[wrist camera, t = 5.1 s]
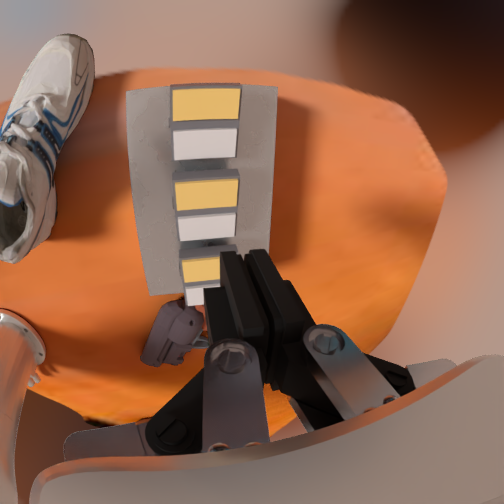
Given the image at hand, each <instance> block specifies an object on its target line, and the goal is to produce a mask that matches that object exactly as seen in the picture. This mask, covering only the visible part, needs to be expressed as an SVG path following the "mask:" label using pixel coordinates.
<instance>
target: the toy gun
mask: <svg viewBox="0 0 504 504" xmlns="http://www.w3.org/2000/svg"><path fill="white" fill-rule="evenodd" d="M203 330H204V331H207V326H206V319H205V309H204V304H203V305H194V306H188V305H186V303H185V299H184V300H174V301H170V302H167V303H166V304H164V305H163V306H162V307H161V309H160V310H159V312H158V315H157V317H156V319H155V322H154V324H153V327H152V329H151V332H150V334H149V337H148V339H147V342H146V345H145V347H144V350H143V353H142V355H141V356H140V359H141V361H142V362H143V363H145V364H147V365H150V366H154V367H159V366H160V365H161V363H167V364H172V365H178V364H182V362H183V361H184V359H183V356H184V354H185V353H186V352H190V350H191V349H192V348H196V349H204V348H209V346H210V344H209V338H208V339H207V338H206V337H204V336H200V334H201V333H202V331H203ZM196 340H197V341H196ZM199 340H201V341H199Z"/></svg>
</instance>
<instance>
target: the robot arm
mask: <svg viewBox="0 0 504 504" xmlns="http://www.w3.org/2000/svg"><path fill="white" fill-rule="evenodd" d="M203 296H204V309H205V319H206V326H207V332H208V338H209V344H210V346H209V348H208V349H207V350H206V353H205V357H204V368H203V369H202V370H201V371H200V372H199V373H198V374H197V375H196V376H195V377H194V378H193V379H191V380H190V381H189V382H188V383H187V384H186V385H185V386H184V387H183V388H182V389H181V390H180V391H179V392H178V393H177V394H176V395H175V396H174V397H173V398H172V399H171V400H170V401H169V402H168V403H167V404H166V405H164V406H163V407H162V408H161V409H160V410H159V411H158V412H157V413H156V414H155V415H154V416H153V417H152V418H151V419H150V420H149V422H146V423H141V424H136V423H135V422H133V423H128V424H123V425H118V426H112V427H106V428H100V429H94V430H86V431H79V432H76V433H72V434H71V435H70V436H69V437H68V438H67V439H66V441H65V443H64V457H65V462H63V463H60V464H56V465H54V466H51V467H49V468H47V469H45V470H44V471H42V472H41V473H40V474H39V475H38V476H37V477H36V479H35V481H34V483H33V486H32V489H31V494H30V501H29V504H504V356H501V355H484V356H479V357H476V358H472V359H470V360H468V361H465V362H464V363H462V364H460V365H458V366H456V364H455V363H453V362H452V361H451V360H448V359H439V360H434V361H429V362H424V363H419V364H412V365H406V367H405V368H403V367H401V366H399V365H397V364H394V363H391V362H388V361H385V360H382V359H379V358H376V357H373V356H370V355H368V354H365V353H362V352H361V350H360V349H359V348H358V347H357V346H356V345H355V344H354V342H353V341H352V340H351V339H350V338H349V337H348V336H347V335H346V333H344V332H343V331H342V330H341V329H339V328H337V327H335V326H332V325H328V324H319V325H316V324H315V322H314V320H313V319H312V317H311V315H310V314H309V312H308V310H307V308H306V307H305V305H304V303H303V302H302V300H301V298H300V297H299V295H298V293H297V292H296V290H295V288H294V287H293V285H292V283H291V282H290V281H289V280H283V279H282V278H281V276H280V274H279V272H278V271H277V269H276V267H275V265H274V264H273V262H272V260H271V258H270V257H269V255H268V253H267V251H266V250H265V249H252V250H250V251H249V254H245V255H244V260H243V258H242V255H241V254H236V252H235V251H223V252H220V287H210V288H203ZM45 356H46V348H45V345H44V342H43V340H42V339H41V337H40V336H39V334H38V333H37V332H36V330H35V329H34V328H33V327H32V326H31V325H30V324H29V323H28V322H26V321H25V320H24V319H23V318H21V317H20V316H18V315H16V314H15V313H13V312H10V311H8V310H4V309H0V504H18V497H17V488H16V481H15V471H14V452H15V442H16V435H17V429H18V424H19V419H20V414H21V409H22V405H23V401H24V397H25V393H26V389H27V385H28V386H29V387H32V386H34V384H35V382H36V383H39V382H40V381H41V379H40V377H39V376H38V374H37V373H36V372H35V370H36V367H37V365H40V364H41V363H43V361H44V359H45ZM264 382H265V384H268V383H270V385H271V388H272V391H275V390H280V391H281V392H282V393H284V394H286V395H287V398H288V401H289V403H290V405H291V406H292V408H293V409H294V411H295V413H296V414H297V416H298V418H299V419H300V421H301V423H302V424H303V426H304V427H305V429H306V431H307V432H308V433H305V434H302V435H298V436H295V437H291V438H286V439H282V440H278V441H274V442H270V437H269V430H268V423H267V416H266V409H265V402H264V395H263V388H264Z"/></svg>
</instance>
